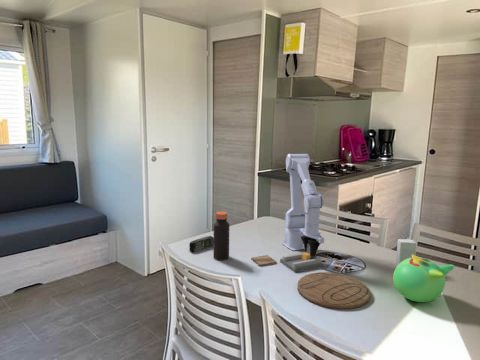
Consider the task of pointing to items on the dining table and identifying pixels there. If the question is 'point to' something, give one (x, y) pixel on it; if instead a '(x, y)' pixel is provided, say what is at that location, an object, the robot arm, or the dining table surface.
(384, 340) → the dining table surface
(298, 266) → the box
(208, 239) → the mobile phone
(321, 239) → the robot arm
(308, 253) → the brushed metal block
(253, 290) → the dining table surface
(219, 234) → the bottle
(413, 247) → the skincare box
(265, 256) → the cork coaster
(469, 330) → the dining table surface
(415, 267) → the toy bird
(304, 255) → the breaker switch
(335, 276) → the trivet
